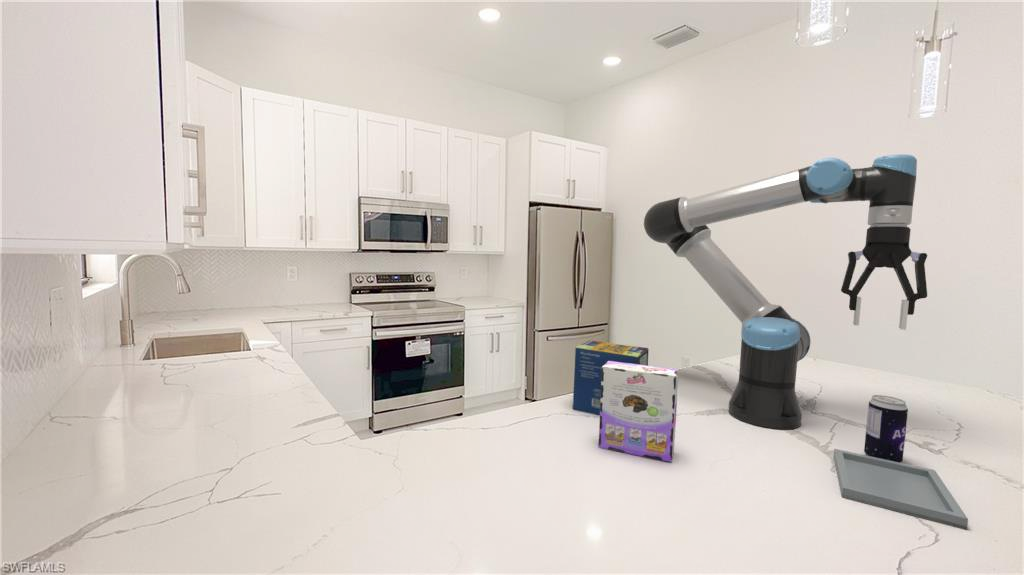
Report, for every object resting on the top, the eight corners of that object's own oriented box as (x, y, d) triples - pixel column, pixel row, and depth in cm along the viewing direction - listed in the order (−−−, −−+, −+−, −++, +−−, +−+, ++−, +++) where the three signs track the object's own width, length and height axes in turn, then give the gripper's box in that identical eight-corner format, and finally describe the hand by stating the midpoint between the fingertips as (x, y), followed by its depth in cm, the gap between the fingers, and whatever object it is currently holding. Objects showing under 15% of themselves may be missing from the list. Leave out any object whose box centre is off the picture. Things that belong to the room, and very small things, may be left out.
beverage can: (893, 469, 81) (900, 406, 80) (857, 456, 86) (863, 396, 85) (907, 463, 83) (914, 401, 82) (872, 451, 88) (878, 392, 87)
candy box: (674, 451, 86) (679, 368, 84) (671, 464, 80) (677, 375, 79) (604, 436, 91) (607, 358, 90) (597, 447, 86) (601, 365, 85)
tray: (842, 497, 71) (842, 487, 71) (833, 456, 85) (834, 448, 85) (966, 529, 63) (968, 519, 63) (933, 478, 78) (934, 470, 78)
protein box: (586, 398, 116) (589, 339, 115) (646, 410, 108) (649, 347, 107) (571, 409, 107) (574, 346, 106) (634, 423, 99) (638, 356, 98)
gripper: (833, 225, 101) (825, 323, 103) (956, 224, 90) (944, 334, 92) (831, 227, 108) (823, 320, 110) (945, 227, 97) (934, 329, 99)
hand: (878, 326), depth 101 cm, fingers open, 8 cm apart
